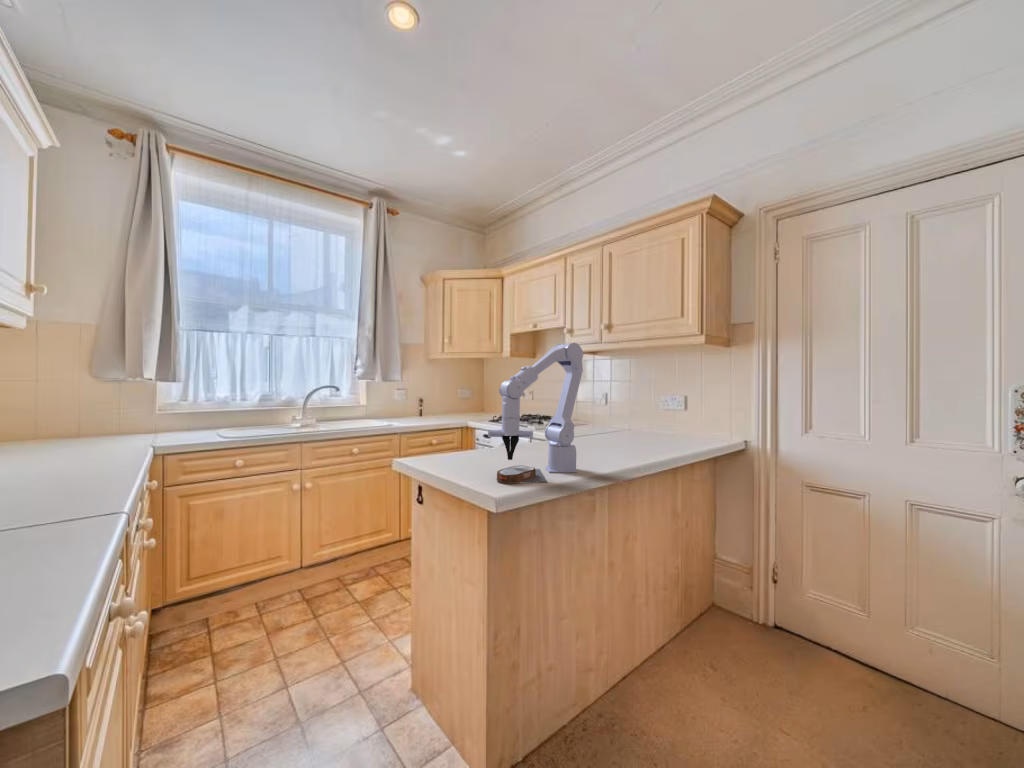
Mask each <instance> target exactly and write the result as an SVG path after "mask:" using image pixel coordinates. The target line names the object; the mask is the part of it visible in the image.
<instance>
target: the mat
mask: <svg viewBox="0 0 1024 768" xmlns="http://www.w3.org/2000/svg"><path fill="white" fill-rule="evenodd" d="M535 470H536V477H535V478H532V479H529V480H526V481H523V482H531V483H530V484H535V483H536V482H537V483H538V482H539V483H538V484H541V483H543V484H546V483H548V480H547V479H546V477H545V476H544V474H543V472H542V470H541V469H540V468H535ZM533 482H535V483H533ZM537 483H536V484H537Z"/></svg>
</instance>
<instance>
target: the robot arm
mask: <svg viewBox="0 0 1024 768" xmlns="http://www.w3.org/2000/svg"><path fill="white" fill-rule="evenodd" d="M584 354H585V353H584V351H583V349H582V346H581V345H580V344H578V343H577V342H571V343H557V344H555V345H554V347H551V348H550V349H549V350H548V351H547V352H546V353H545V354H544V355H543V356H542V357H541V358H539V359H538V360H537V361H536V362H535V363H534V364H533V365H531V366H529V365H526V366H522V367H521V368H520V370H519V371H518V373H516V374H515V375H511V376H510V379H509V380H505V381H503V382H502V383H501V384H500V385H501V386H500V388H498V393H499V394H500V396H501V402H502V404H501V405H502V407H501V429H493V430H487V431H488V432H487V438H501V439H502V442H503V444H504V448H505V449H506V456H507V460H508V461H512V460H513V459H514V458H513V457H514V454H515V453H514V452H515V450H516V447H517V445H518V443H519V441H520V438H534V431H533V430H525V429H524V430H521V429H520V420H521V419H520V417H521V415H520V413H521V412H520V411H521V407H520V406H521V398H522V396H523V395H524V393H525V390H526V389H528V388H529V387H530V386H531V385H533V384H534V383H535V382H536V381H537V380H538V379H539V374H541V373H542V372H544V371H545V370H546V369H547V368H550V366H552V365H553V364H554V363H558V365H559V366H561V368H563V370H564V372H565V376H564V380H563V384H562V388H561V391H560V392H561V393H560V396H559V399H558V404H557V408H556V412H555V414H554V416H553V417H552V418H550V419H549V422H548V423H549V424H547V426H546V428H545V430H544V437H545V439H546V440H547V442H548V443H547V444H548V455H547V456H548V458H547V460H548V463H547V465H546V466H545V469H546V470H547V471H548V472H549V473H577V447H576V445H574V444H572V443H573V441H574V440H575V423H574V422H573V420H572V416H573V411H574V407H575V403H576V400H577V395H578V391H579V387H580V385H581V381H582V379H581V378H582V376H583V371H584V370H583V358H584Z"/></svg>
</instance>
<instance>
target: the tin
mask: <svg viewBox="0 0 1024 768" xmlns="http://www.w3.org/2000/svg"><path fill="white" fill-rule="evenodd" d="M535 469H536V468H535V467H533V466H527V465H524V464H523V465H521V464H519V465H513V466H509V467H505V468H502V469H499V470H497V471H496V481H497V482H499V483H503V484H521V483H520V482H523V481H526V480H529V479H532V478H535V477H536V470H535Z"/></svg>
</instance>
